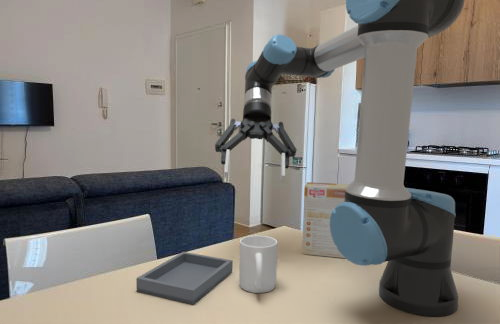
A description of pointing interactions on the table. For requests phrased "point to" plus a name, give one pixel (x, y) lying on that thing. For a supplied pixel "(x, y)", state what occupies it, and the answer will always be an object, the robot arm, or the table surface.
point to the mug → (258, 263)
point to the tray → (185, 277)
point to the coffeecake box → (320, 218)
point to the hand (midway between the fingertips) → (254, 176)
